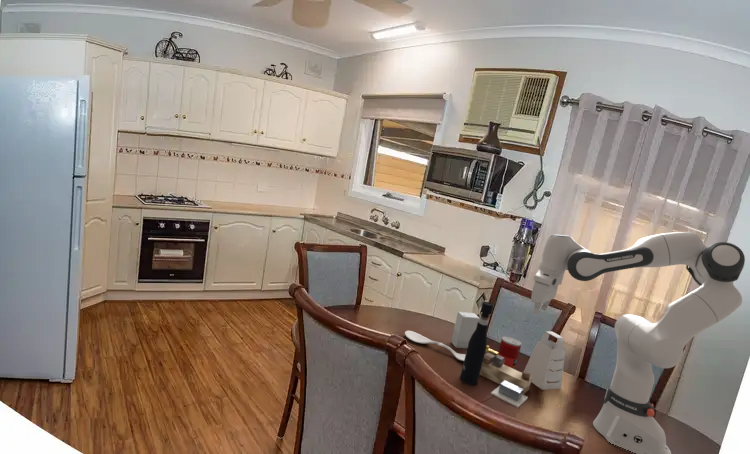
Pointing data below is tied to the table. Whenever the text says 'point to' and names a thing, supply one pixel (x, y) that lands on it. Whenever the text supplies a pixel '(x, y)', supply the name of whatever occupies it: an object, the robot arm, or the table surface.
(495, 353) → the latch bar
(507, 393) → the grey metal block
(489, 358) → the plane body
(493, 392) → the felt mat
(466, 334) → the skincare box
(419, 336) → the spoon
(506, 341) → the canned food
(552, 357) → the grater
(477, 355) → the wine bottle
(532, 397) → the table surface
